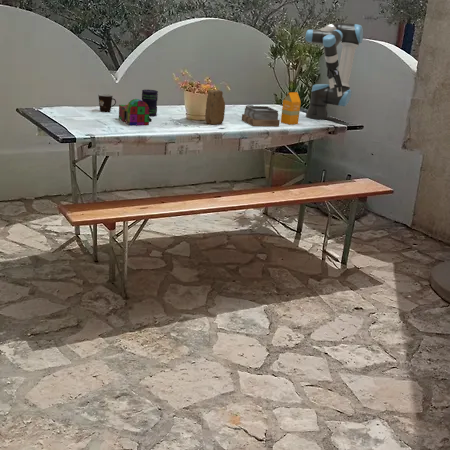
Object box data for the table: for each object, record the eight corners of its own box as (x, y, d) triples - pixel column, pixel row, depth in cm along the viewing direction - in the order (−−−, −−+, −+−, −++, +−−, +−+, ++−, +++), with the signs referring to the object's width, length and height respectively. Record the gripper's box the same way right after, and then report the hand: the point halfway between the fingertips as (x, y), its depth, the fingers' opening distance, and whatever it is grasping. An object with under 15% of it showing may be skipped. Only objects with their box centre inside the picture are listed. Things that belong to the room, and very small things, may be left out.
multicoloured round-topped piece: (157, 125, 346) (158, 101, 341) (129, 125, 338) (130, 100, 333) (142, 116, 366) (143, 93, 361) (115, 117, 359) (116, 93, 354)
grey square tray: (241, 120, 384) (243, 105, 381) (266, 120, 391) (268, 106, 387) (252, 126, 369) (254, 110, 365) (278, 126, 375) (280, 111, 372)
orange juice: (298, 123, 390) (302, 92, 383) (289, 124, 384) (293, 93, 377) (289, 121, 395) (293, 90, 388) (280, 122, 389) (284, 91, 382)
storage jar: (137, 114, 371) (138, 90, 366) (148, 112, 379) (149, 89, 374) (149, 117, 366) (150, 92, 361) (160, 115, 374) (161, 91, 368)
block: (208, 124, 360) (211, 91, 353) (203, 122, 367) (206, 89, 360) (224, 124, 365) (227, 91, 358) (219, 122, 371) (222, 89, 364)
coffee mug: (95, 110, 372) (95, 94, 368) (108, 109, 377) (108, 93, 373) (104, 113, 363) (104, 97, 360) (116, 113, 368) (117, 97, 365)
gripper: (319, 55, 377) (323, 86, 390) (333, 69, 357) (337, 101, 370) (330, 52, 378) (334, 82, 390) (345, 65, 358) (349, 97, 370)
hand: (336, 91), depth 380 cm, fingers open, 13 cm apart
